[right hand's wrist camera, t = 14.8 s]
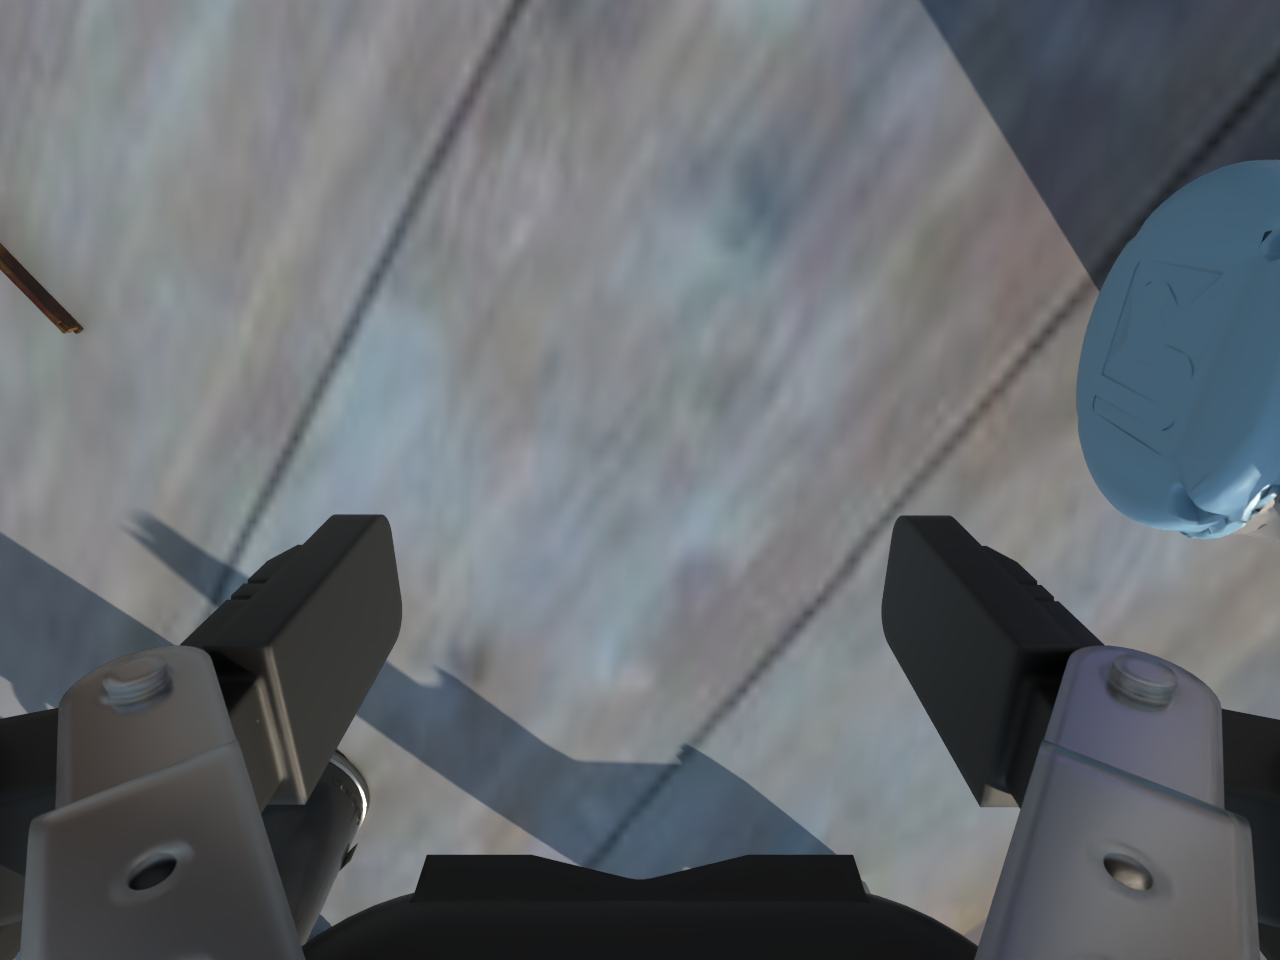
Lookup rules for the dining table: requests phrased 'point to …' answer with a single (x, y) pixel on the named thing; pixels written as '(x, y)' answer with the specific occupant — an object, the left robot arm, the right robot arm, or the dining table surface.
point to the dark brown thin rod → (37, 293)
